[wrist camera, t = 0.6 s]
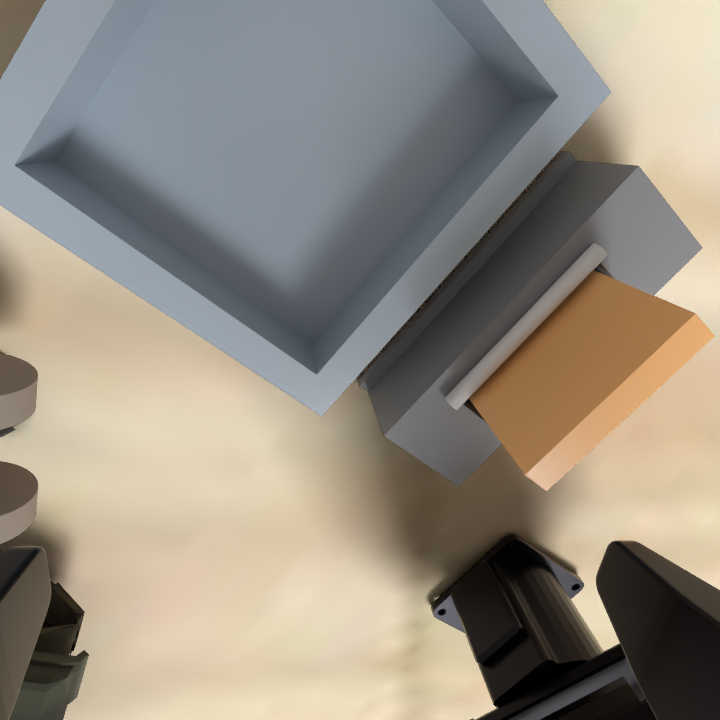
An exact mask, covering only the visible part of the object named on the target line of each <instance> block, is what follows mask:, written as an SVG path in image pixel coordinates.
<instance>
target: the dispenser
mask: <svg viewBox="0 0 720 720" xmlns="http://www.w3.org/2000/svg"><path fill="white" fill-rule="evenodd" d="M701 249H702V246H701V245H700V244H699V243H698V241H697V240H696V239H695V237H694V236H693V235H692V234H691V232H690V231H689V230H688V228H687V227H686V226H685V225H684V223H683V222H682V221H681V219H680V218H679V217H678V216H677V214H676V213H675V212H674V210H673V209H672V208H671V207H670V205H669V204H668V203H667V202H666V200H665V199H664V198H663V196H662V195H661V194H660V193H659V191H658V190H657V189H656V187H655V186H654V185H653V184H652V182H651V181H650V180H649V178H648V177H647V176H646V175H645V173H644V172H643V171H642V169H641V168H640V167H639V166H634V165H622V164H610V163H598V162H586V161H577V160H576V158H575V157H574V156H573V155H572V154H571V152H570V151H562V152H561V153H560V154H559V155H558V157H557V158H556V159H555V160H554V161H553V162H552V163H551V164H550V166H549V167H548V168H547V169H546V170H545V171H544V172H543V173H542V174H541V176H540V177H539V178H538V179H537V180H536V181H535V182H534V183H533V185H532V186H531V187H530V188H529V189H528V190H527V191H526V192H525V193H524V195H523V196H522V197H521V198H520V199H519V200H518V201H517V202H516V203H515V205H514V206H513V207H512V208H511V209H510V210H509V211H508V212H507V214H506V215H505V216H504V217H503V218H502V219H501V220H500V221H499V222H498V224H497V225H496V226H495V227H494V228H493V229H492V230H491V231H490V233H489V234H488V235H487V236H486V237H485V238H484V239H483V240H482V241H481V243H480V244H479V245H478V246H477V247H476V248H475V249H474V250H473V252H472V253H471V254H470V255H469V256H468V257H467V258H466V259H465V260H464V262H463V263H462V264H461V265H460V266H459V267H458V268H457V269H456V271H455V272H454V273H453V274H452V275H451V276H450V277H449V278H448V279H447V281H446V282H445V283H444V284H443V285H442V286H441V287H440V288H439V289H438V291H437V292H436V293H435V294H434V295H433V296H432V297H431V298H430V300H429V301H428V302H427V303H426V304H425V305H424V306H423V307H422V308H421V310H420V311H419V312H418V313H417V314H416V315H415V316H414V317H413V319H412V320H411V321H410V322H409V323H408V324H407V325H406V326H405V327H404V329H403V330H402V331H401V332H400V333H399V334H398V335H397V336H396V338H395V339H394V340H393V341H392V342H391V343H390V344H389V345H388V346H387V348H386V349H385V350H384V351H383V352H382V353H381V354H380V355H379V356H378V358H377V359H376V360H375V361H374V362H373V363H372V364H371V365H370V367H369V368H368V369H367V370H366V371H365V372H364V373H363V374H362V375H361V377H360V378H359V379H358V380H357V381H358V384H359V386H361V387H362V388H363V389H365V390H366V391H368V394H369V396H370V399H371V402H372V405H373V408H374V410H375V413H376V416H377V419H378V421H379V424H380V427H381V430H382V433H383V435H384V437H386V438H387V439H389V440H390V441H392V442H393V443H394V444H396V445H397V446H399V447H400V448H402V449H403V450H405V451H406V452H408V453H409V454H411V455H412V456H414V457H415V458H417V459H418V460H420V461H421V462H423V463H424V464H425V465H427V466H428V467H430V468H431V469H433V470H434V471H436V472H437V473H439V474H440V475H442V476H443V477H445V478H446V479H448V480H449V481H451V482H452V483H453V484H455V485H456V486H458V487H459V486H460V485H461V484H462V483H463V482H464V481H465V480H466V479H467V478H468V477H469V476H470V475H471V474H472V473H473V472H474V471H475V470H476V469H477V468H478V467H479V466H480V465H481V464H482V463H483V462H484V461H485V460H486V459H487V458H488V457H489V456H490V455H491V454H492V453H493V452H494V451H496V450H497V449H498V448H499V447H500V446H501V445H502V443H501V442H500V440H499V439H498V438H497V436H496V435H495V433H494V432H493V431H492V429H491V428H490V427H489V425H488V424H487V423H486V421H485V420H484V418H483V417H482V416H481V414H480V413H479V412H478V410H477V409H476V408H475V406H474V405H473V403H472V402H471V401H470V399H469V397H470V396H471V395H472V394H473V393H474V392H475V391H476V390H477V389H478V388H479V387H480V386H481V385H482V384H483V383H484V382H485V381H486V380H487V379H488V378H489V377H490V376H491V375H492V374H493V373H494V372H495V370H496V369H497V368H498V367H499V366H500V365H501V364H502V363H503V362H504V361H505V360H506V359H507V358H508V357H509V356H510V355H511V354H512V353H513V352H514V351H515V350H516V349H517V348H518V347H519V346H520V345H521V344H522V343H523V342H524V341H525V340H526V339H527V338H528V337H529V336H530V335H531V333H532V332H533V331H534V330H535V329H536V328H537V327H538V326H539V325H540V324H541V323H542V322H543V321H544V320H545V319H546V318H547V317H548V316H549V315H550V314H551V313H552V312H553V311H554V310H555V309H556V308H557V307H558V306H559V305H560V304H561V303H562V302H563V301H564V300H565V299H566V298H567V296H568V295H569V294H570V293H571V292H572V291H573V290H574V289H575V288H576V287H577V286H578V285H579V284H580V283H581V282H582V281H583V280H584V279H585V278H586V277H587V276H588V275H589V274H590V273H591V272H592V271H593V270H594V271H597V272H599V273H601V274H604V275H606V276H608V277H611V278H613V279H615V280H618V281H620V282H622V283H625V284H627V285H630V286H632V287H634V288H637V289H639V290H641V291H644V292H646V293H648V294H651V295H653V296H654V295H655V294H656V293H657V292H658V291H659V290H660V289H661V288H662V287H663V286H664V285H665V284H666V283H667V282H668V281H669V280H670V279H671V278H672V277H673V276H674V275H675V274H676V273H677V272H678V271H679V270H681V269H682V268H683V267H684V266H685V265H686V264H687V263H688V262H689V261H690V260H691V259H692V258H693V257H694V256H695V255H696V254H697V253H698V252H699V251H700V250H701Z"/></svg>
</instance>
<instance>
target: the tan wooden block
mask: <svg viewBox="0 0 720 720" xmlns="http://www.w3.org/2000/svg"><path fill="white" fill-rule="evenodd" d="M713 337H714V335H713V333H712V332H711V331H710V330H709V329H708V327H707V326H706V325H705V324H704V323H703V322H702V320H701V319H700V318H699V317H698V316H697V315H696V314H695V313H693V312H691V311H688V310H686V309H684V308H681V307H679V306H677V305H674V304H672V303H670V302H667V301H665V300H663V299H660V298H658V297H655V296H653V295H651V294H648V293H646V292H644V291H641V290H639V289H637V288H634V287H632V286H630V285H627V284H625V283H622V282H620V281H618V280H615V279H613V278H611V277H608V276H606V275H604V274H601V273H599V272H597V271H594V270H593V271H592V272H591V273H590V274H589V275H588V276H587V277H586V278H585V279H584V280H583V281H582V282H581V283H580V284H579V285H578V286H577V287H576V288H575V289H574V290H573V291H572V292H571V293H570V294H569V295H568V296H567V298H566V299H565V300H564V301H563V302H562V303H561V304H560V305H559V306H558V307H557V308H556V309H555V310H554V311H553V312H552V313H551V314H550V315H549V316H548V317H547V318H546V319H545V320H544V321H543V322H542V323H541V324H540V325H539V326H538V327H537V328H536V329H535V330H534V331H533V332H532V333H531V335H530V336H529V337H528V338H527V339H526V340H525V341H524V342H523V343H522V344H521V345H520V346H519V347H518V348H517V349H516V350H515V351H514V352H513V353H512V354H511V355H510V356H509V357H508V358H507V359H506V360H505V361H504V362H503V363H502V364H501V365H500V366H499V367H498V368H497V369H496V370H495V372H494V373H493V374H492V375H491V376H490V377H489V378H488V379H487V380H486V381H485V382H484V383H483V384H482V385H481V386H480V387H479V388H478V389H477V390H476V391H475V392H474V393H473V394H472V395H471V396H470V397H469V399H470V401H471V402H472V403H473V405H474V406H475V408H476V409H477V410H478V412H479V413H480V414H481V416H482V417H483V418H484V420H485V421H486V423H487V424H488V425H489V427H490V428H491V429H492V431H493V432H494V433H495V435H496V436H497V438H498V439H499V440H500V442H501V443H502V444H503V446H504V447H505V448H506V450H507V451H508V453H509V454H510V455H511V457H512V458H513V459H514V461H515V462H516V463H517V465H518V466H519V468H520V469H521V470H522V472H523V473H524V474H525V475H526V476H527V477H528V478H530V479H531V480H532V481H534V482H535V483H536V484H538V485H539V486H540V487H542V488H543V489H544V490H546V491H548V490H549V489H550V488H551V487H552V486H553V485H554V484H555V483H556V482H557V481H559V480H560V479H561V478H562V477H563V476H564V475H565V474H566V473H567V472H568V471H569V470H570V469H572V468H573V467H574V466H575V465H576V464H577V463H578V462H579V461H580V460H581V459H582V458H583V457H585V456H586V455H587V454H588V453H589V452H590V451H591V450H592V449H593V448H594V447H595V446H596V445H598V444H599V443H600V442H601V441H602V440H603V439H604V438H605V437H606V436H607V435H608V434H609V433H611V432H612V431H613V430H614V429H615V428H616V427H617V426H618V425H619V424H620V423H621V422H622V421H623V420H625V419H626V418H627V417H628V416H629V415H630V414H631V413H632V412H633V411H634V410H635V409H636V408H638V407H639V406H640V405H641V404H642V403H643V402H644V401H645V400H646V399H647V398H648V397H649V396H651V395H652V394H653V393H654V392H655V391H656V390H657V389H658V388H659V387H660V386H661V385H662V384H664V383H665V382H666V381H667V380H668V379H669V378H670V377H671V376H672V375H673V374H674V373H675V372H677V371H678V370H679V369H680V368H681V367H682V366H683V365H684V364H685V363H686V362H687V361H688V360H689V359H691V358H692V357H693V356H694V355H695V354H696V353H697V352H698V351H699V350H700V349H701V348H702V347H704V346H705V345H706V344H707V343H708V342H709V341H710V340H711V339H712V338H713Z"/></svg>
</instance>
